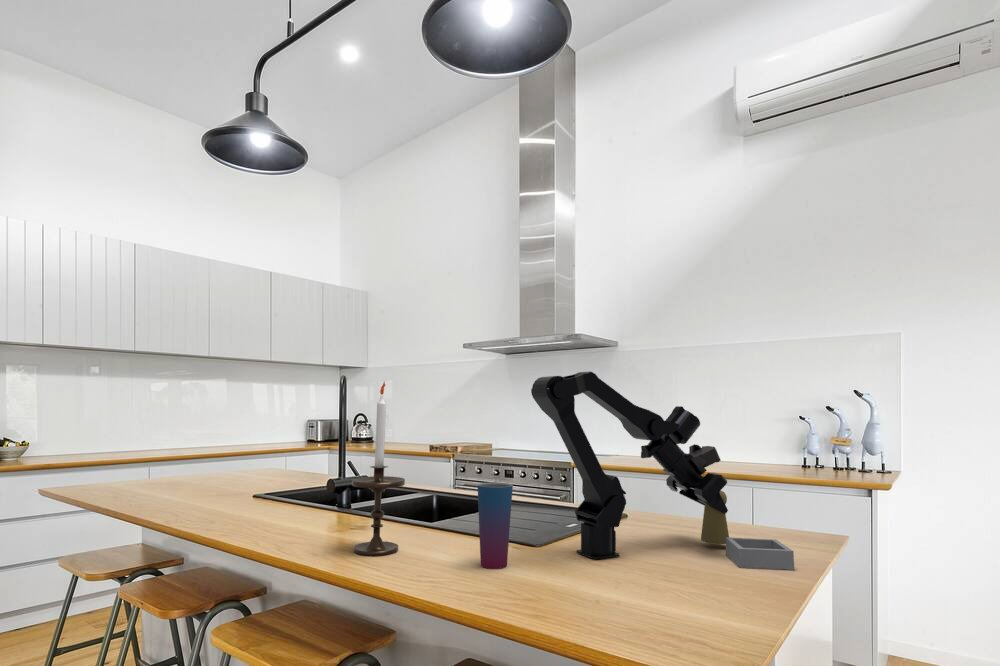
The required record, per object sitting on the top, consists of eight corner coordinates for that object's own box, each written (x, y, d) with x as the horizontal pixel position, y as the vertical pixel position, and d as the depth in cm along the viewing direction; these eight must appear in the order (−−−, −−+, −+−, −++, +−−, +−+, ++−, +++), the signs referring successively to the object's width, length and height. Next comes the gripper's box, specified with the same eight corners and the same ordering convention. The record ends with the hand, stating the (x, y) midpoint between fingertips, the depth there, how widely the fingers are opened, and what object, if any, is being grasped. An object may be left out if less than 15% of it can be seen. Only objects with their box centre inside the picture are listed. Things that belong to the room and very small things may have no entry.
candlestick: (412, 552, 122) (417, 381, 126) (362, 560, 115) (369, 379, 119) (387, 542, 130) (393, 382, 134) (340, 549, 124) (348, 380, 128)
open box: (739, 567, 114) (738, 548, 115) (726, 554, 124) (725, 537, 124) (794, 570, 113) (793, 551, 113) (776, 556, 123) (775, 539, 123)
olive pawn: (735, 543, 129) (734, 491, 130) (711, 544, 127) (710, 492, 129) (719, 537, 135) (718, 487, 136) (695, 538, 133) (694, 488, 135)
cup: (477, 560, 117) (478, 482, 118) (511, 561, 116) (512, 482, 118) (474, 569, 110) (476, 486, 112) (511, 570, 110) (512, 487, 111)
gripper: (717, 435, 124) (768, 490, 124) (678, 431, 143) (722, 478, 143) (682, 473, 122) (733, 529, 122) (647, 464, 140) (691, 512, 141)
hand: (720, 510), depth 132 cm, fingers closed on olive pawn, 5 cm apart
